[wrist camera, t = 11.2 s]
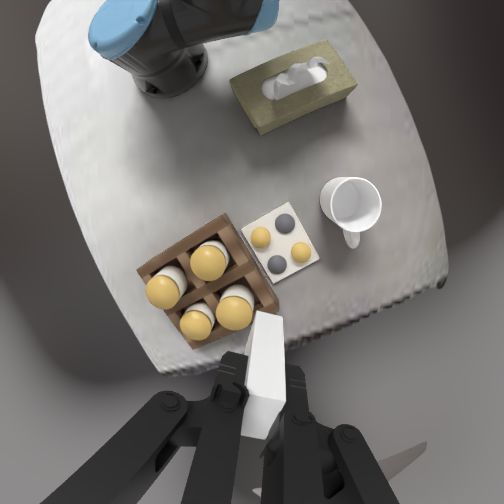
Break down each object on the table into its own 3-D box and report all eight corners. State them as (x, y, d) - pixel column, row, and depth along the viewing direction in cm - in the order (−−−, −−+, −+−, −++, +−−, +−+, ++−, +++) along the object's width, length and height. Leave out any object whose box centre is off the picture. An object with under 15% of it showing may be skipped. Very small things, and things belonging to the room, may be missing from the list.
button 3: (193, 248, 51) (183, 257, 45) (219, 232, 50) (212, 239, 44) (210, 274, 52) (202, 286, 46) (236, 260, 51) (232, 270, 45)
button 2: (182, 306, 55) (173, 320, 49) (206, 294, 53) (198, 307, 48) (199, 328, 56) (191, 344, 50) (222, 317, 55) (217, 333, 49)
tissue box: (259, 137, 46) (252, 119, 31) (233, 94, 44) (217, 62, 29) (347, 97, 43) (375, 68, 28) (321, 56, 41) (337, 16, 26)
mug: (364, 238, 50) (383, 252, 40) (323, 243, 51) (334, 259, 41) (358, 175, 47) (379, 175, 37) (316, 179, 47) (327, 179, 38)
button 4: (215, 293, 50) (208, 308, 44) (243, 278, 49) (239, 292, 43) (233, 318, 51) (228, 335, 45) (260, 305, 50) (258, 321, 44)
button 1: (152, 274, 50) (139, 286, 44) (176, 260, 49) (164, 270, 43) (170, 300, 51) (158, 314, 46) (193, 287, 50) (184, 300, 44)
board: (145, 263, 54) (136, 270, 50) (225, 212, 50) (220, 216, 46) (198, 338, 58) (193, 349, 54) (278, 300, 54) (278, 310, 50)
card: (241, 228, 51) (239, 230, 49) (288, 201, 49) (289, 202, 47) (273, 281, 53) (273, 285, 51) (319, 257, 51) (320, 260, 49)
